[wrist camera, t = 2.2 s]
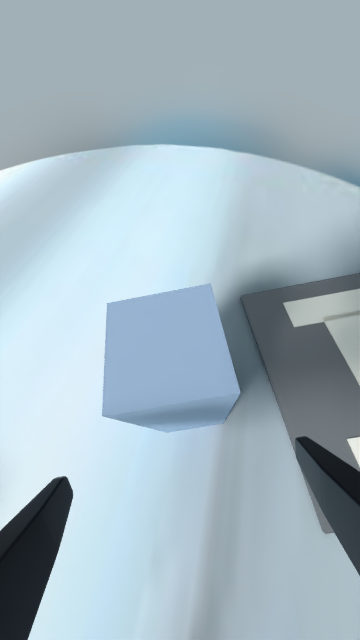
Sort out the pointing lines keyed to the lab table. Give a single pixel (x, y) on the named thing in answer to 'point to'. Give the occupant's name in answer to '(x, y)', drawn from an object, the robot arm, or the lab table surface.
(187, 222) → the lab table surface
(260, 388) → the lab table surface
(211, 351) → the blue block
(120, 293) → the lab table surface
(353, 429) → the letter mat
